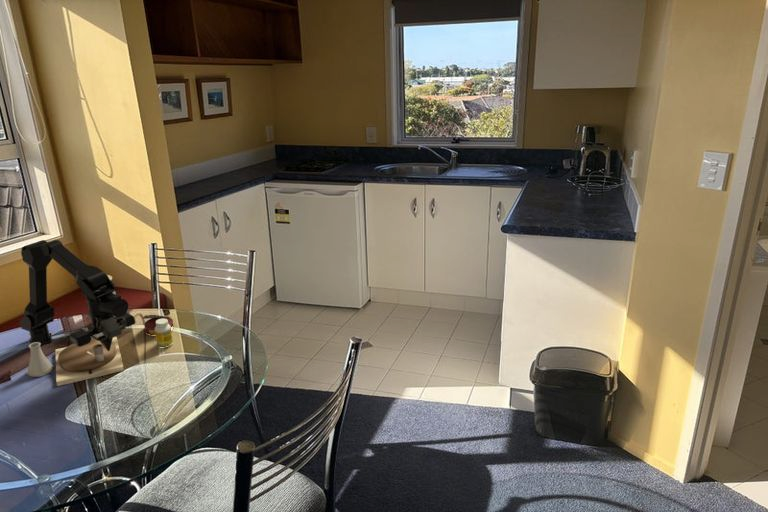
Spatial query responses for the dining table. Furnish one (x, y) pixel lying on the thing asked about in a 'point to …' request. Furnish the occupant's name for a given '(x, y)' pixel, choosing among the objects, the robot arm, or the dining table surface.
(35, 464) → the dining table surface
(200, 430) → the dining table surface
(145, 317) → the dark red handled pot
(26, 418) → the dining table surface
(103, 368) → the stand
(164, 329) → the supplement bottle
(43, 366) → the flask
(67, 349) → the knobbed disc on base
